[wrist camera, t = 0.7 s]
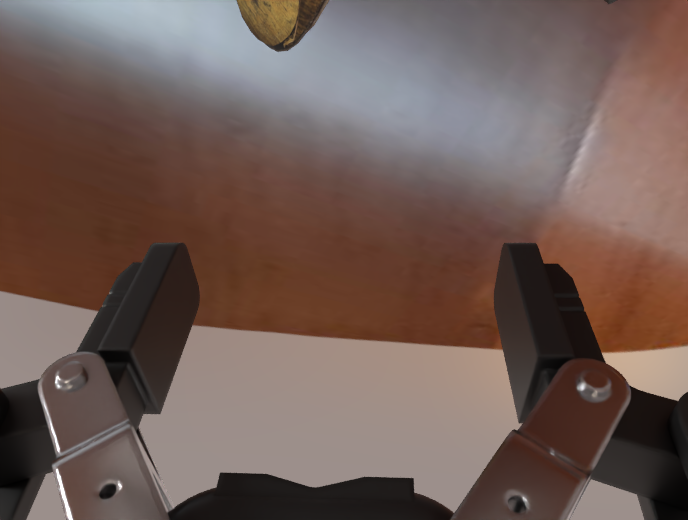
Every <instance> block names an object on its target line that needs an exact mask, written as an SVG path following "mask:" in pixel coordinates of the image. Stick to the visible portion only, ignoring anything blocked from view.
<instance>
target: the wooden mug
mask: <svg viewBox="0 0 688 520" xmlns="http://www.w3.org/2000/svg"><path fill="white" fill-rule="evenodd" d="M328 1H329V0H237V3H238V6H239V9H240V12H241V15H242V17H243V19H244V21H245V23H246V24H247V26H248V28H249V29H250V31H251V32H252V33H253V34H254V35H255V37H256V38H257V39H258V40H260V41H262V42H263V43H265V44H266V45H267V46H268V47H270V48H271V49H273V50H275V51H277V52H279V51H288V50H289V49H291V48H292V47H294V46H295V45H296V44H298V43H299V41H300V40H301V39H302V38H303V36H304V35H305V34H306V33H307V32H308V31H309V30H310V29H311V28H312V27H313V26H314V25H315V23H316V21H317V20H318V18H319V16H320V15H321V13H322V11H323V10H324V8H325V6H326V5H327V3H328Z"/></svg>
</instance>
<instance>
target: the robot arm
mask: <svg viewBox="0 0 688 520" xmlns="http://www.w3.org/2000/svg"><path fill="white" fill-rule="evenodd" d="M199 299H200V294H199V286H198V283H197V279H196V276H195V273H194V269H193V266H192V263H191V260H190V256H189V253H188V250H187V247H186V245H185V244H184V243H153V244H152V245H151V246H150V248H149V250H148V252H147V254H146V256H145V258H144V260H143V262H142V263H132V264H131V265H130V266H129V267H128V268H127V269H126V270H124V271H123V272H122V273H121V274H120V275H119V276H118V277H117V279H116V281H115V283H114V284H113V286H112V288H111V290H110V294H109V295H107V297H106V299H105V301H104V303H103V307H101V308H100V310H99V312H98V313H97V315H96V317H95V319H94V321H93V323H92V324H91V327H90V328H89V330H88V332H87V334H86V335H85V337H84V339H83V341H82V343H81V344H80V347H79V348H78V350H77V352H76V353H73V354H69V355H67V356H65V357H62V358H61V359H59V360H57V361H56V362H54V363H53V364H52V365H50V366H49V367H48V368H47V369H46V370H45V372H44V373H43V374H42V376H41V378H40V379H38V380H35V381H31V382H27V383H24V384H19V385H15V386H11V387H7V388H3V389H0V520H26V519H27V516H28V514H29V512H30V509H31V507H32V505H33V502H34V500H35V498H36V495H37V493H38V491H39V489H40V486H41V484H42V482H43V479H44V477H45V474H47V473H50V472H53V473H54V477H55V480H56V484H57V488H58V491H59V495H60V499H61V502H62V506H63V509H64V513H65V517H66V520H570V518H571V516H572V514H573V512H574V510H575V509H576V507H577V505H578V503H579V501H580V499H581V497H582V495H583V493H584V491H585V490H586V488H587V486H588V484H589V482H590V480H591V479H593V480H595V481H598V482H602V483H604V484H607V485H610V486H614V487H616V488H619V489H623V490H626V491H629V492H632V493H635V494H637V496H638V499H639V502H640V506H641V509H642V513H643V516H644V520H688V392H687V393H685V394H684V395H683V396H682V397H681V398H680V399H679V401H676V400H672V399H668V398H664V397H661V396H657V395H654V394H650V393H646V392H643V391H640V390H638V389H636V388H633V387H631V386H629V384H628V383H627V381H626V379H625V378H624V377H623V376H622V374H620V373H619V372H618V371H617V370H616V369H614V368H613V367H611V366H610V365H608V364H606V363H605V360H604V358H603V355H602V353H601V350H600V348H599V345H598V343H597V340H596V337H595V335H594V332H593V330H592V327H591V325H590V322H589V319H588V317H587V314H586V312H584V307H583V304H582V301H581V299H580V298H579V294H578V291H577V289H576V286H575V284H574V281H573V278H572V277H571V276H570V275H569V274H568V273H567V272H566V271H565V270H564V269H563V268H562V267H561V266H560V265H559V264H544V263H543V260H542V257H541V254H540V251H539V249H538V246H537V244H536V243H504V244H503V247H502V251H501V256H500V261H499V267H498V272H497V278H496V283H495V289H494V309H495V315H496V319H497V324H498V329H499V333H500V338H501V343H502V347H503V352H504V357H505V361H506V365H507V371H508V375H509V380H510V384H511V389H512V394H513V398H514V403H515V407H516V412H517V417H518V422H519V423H523V424H522V426H521V427H520V428H519V429H518V430H512V431H511V432H510V433H509V435H508V436H507V437H506V439H505V440H504V442H503V443H502V444H501V446H500V447H499V449H498V450H497V452H496V453H495V455H494V456H493V458H492V459H491V460H490V462H489V463H488V465H487V467H486V468H485V469H484V471H483V472H482V474H481V475H480V477H479V478H478V479H477V481H476V483H475V484H474V485H473V487H472V488H471V490H470V491H469V493H468V494H467V496H466V497H465V499H464V500H463V502H462V503H461V504H460V506H459V507H458V509H457V510H456V512H455V513H453V512H452V511H451V510H449V509H448V508H446V507H445V506H443V505H442V504H440V503H438V502H437V501H435V500H433V499H430V498H428V497H426V496H424V495H420V494H417V493H414V479H413V478H386V477H362V478H358V479H354V480H349V481H344V482H340V483H336V484H331V485H327V486H323V487H317V488H314V487H308V486H305V485H302V484H298V483H295V482H292V481H288V480H285V479H282V478H278V477H275V476H272V475H268V474H248V473H220V476H219V480H218V484H217V488H213V489H210V490H207V491H204V492H201V493H199V494H197V495H195V496H193V497H190V498H188V499H187V500H186V501H184V502H182V503H180V504H179V505H177V506H176V507H174V505H173V503H172V501H171V498H170V496H169V494H168V492H167V490H166V488H165V485H164V483H163V481H162V479H161V476H160V474H159V472H158V470H157V467H156V465H155V463H154V461H153V458H152V456H151V454H150V451H149V449H148V447H147V445H146V442H145V440H144V438H143V435H142V433H141V431H140V429H139V427H138V426H139V424H140V421H141V418H142V416H143V414H160V413H161V411H162V408H163V405H164V402H165V399H166V397H167V393H168V391H169V388H170V386H171V383H172V380H173V377H174V374H175V372H176V369H177V366H178V363H179V361H180V358H181V355H182V352H183V349H184V346H185V344H186V341H187V338H188V335H189V333H190V330H191V327H192V324H193V322H194V319H195V316H196V313H197V310H198V307H199Z"/></svg>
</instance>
